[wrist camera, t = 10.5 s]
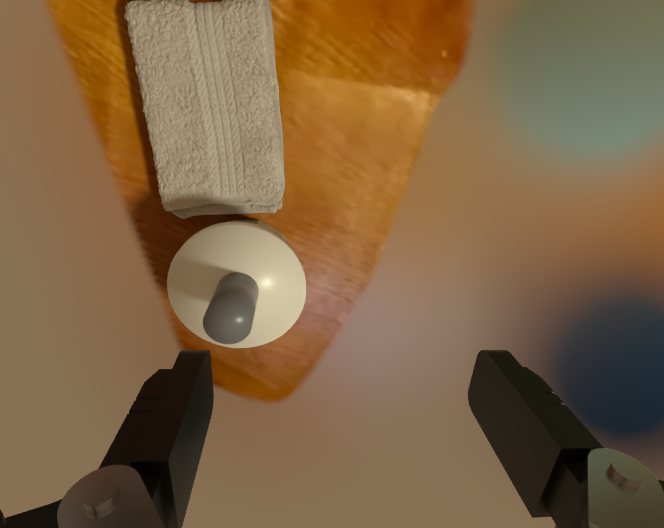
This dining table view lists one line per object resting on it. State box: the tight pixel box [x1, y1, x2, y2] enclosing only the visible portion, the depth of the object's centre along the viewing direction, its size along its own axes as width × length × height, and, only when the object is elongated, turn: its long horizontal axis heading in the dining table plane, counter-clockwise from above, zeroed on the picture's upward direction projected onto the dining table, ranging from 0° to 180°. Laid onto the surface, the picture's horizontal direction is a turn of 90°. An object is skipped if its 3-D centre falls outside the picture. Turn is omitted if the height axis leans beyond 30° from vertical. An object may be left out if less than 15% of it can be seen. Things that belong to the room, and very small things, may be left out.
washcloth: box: [125, 0, 285, 219], centre depth 33 cm, size 12×18×3 cm, turn 3°
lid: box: [167, 221, 306, 348], centre depth 31 cm, size 12×12×7 cm
